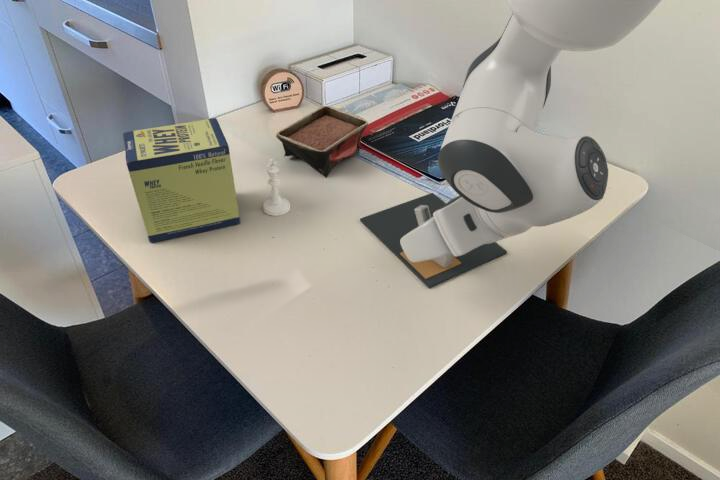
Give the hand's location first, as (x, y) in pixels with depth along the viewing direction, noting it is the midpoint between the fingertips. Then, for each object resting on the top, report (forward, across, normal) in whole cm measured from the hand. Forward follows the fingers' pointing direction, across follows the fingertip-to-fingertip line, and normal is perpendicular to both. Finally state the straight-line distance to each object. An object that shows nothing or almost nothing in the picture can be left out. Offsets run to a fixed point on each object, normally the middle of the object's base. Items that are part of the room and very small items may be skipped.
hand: (430, 231), depth 81 cm
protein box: (+29, +23, -21) cm, 42 cm away
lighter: (+3, 0, +4) cm, 5 cm away
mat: (+7, -5, +2) cm, 8 cm away
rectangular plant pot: (+30, -8, -22) cm, 38 cm away
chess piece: (+24, +10, -15) cm, 30 cm away
